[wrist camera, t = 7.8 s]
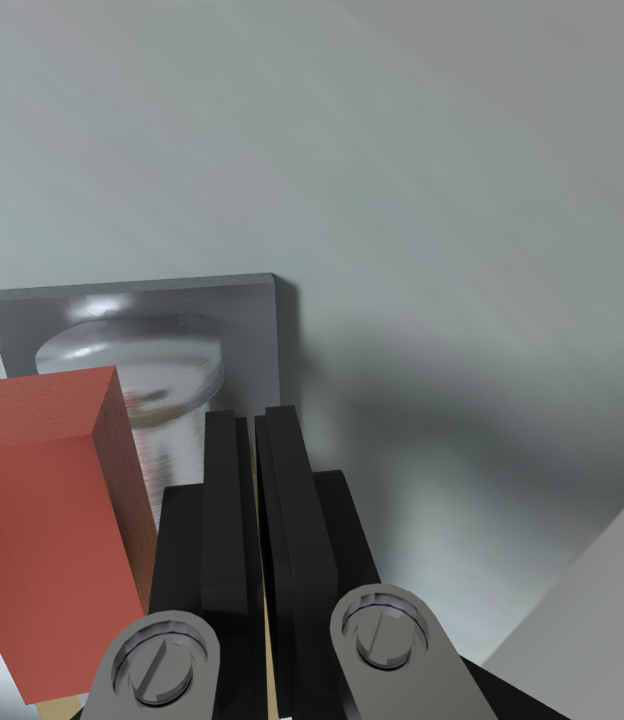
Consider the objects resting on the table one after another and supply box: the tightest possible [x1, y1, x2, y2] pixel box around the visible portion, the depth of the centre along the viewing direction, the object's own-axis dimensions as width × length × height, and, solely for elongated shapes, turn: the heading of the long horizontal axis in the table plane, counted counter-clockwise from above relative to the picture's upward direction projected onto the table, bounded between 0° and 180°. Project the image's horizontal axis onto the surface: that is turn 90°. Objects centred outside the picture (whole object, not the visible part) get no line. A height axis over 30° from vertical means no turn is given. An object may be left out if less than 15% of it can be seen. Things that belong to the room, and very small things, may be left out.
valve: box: [0, 273, 281, 720], centre depth 16 cm, size 18×8×8 cm, turn 1°
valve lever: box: [0, 365, 158, 708], centre depth 10 cm, size 11×2×2 cm, turn 3°
